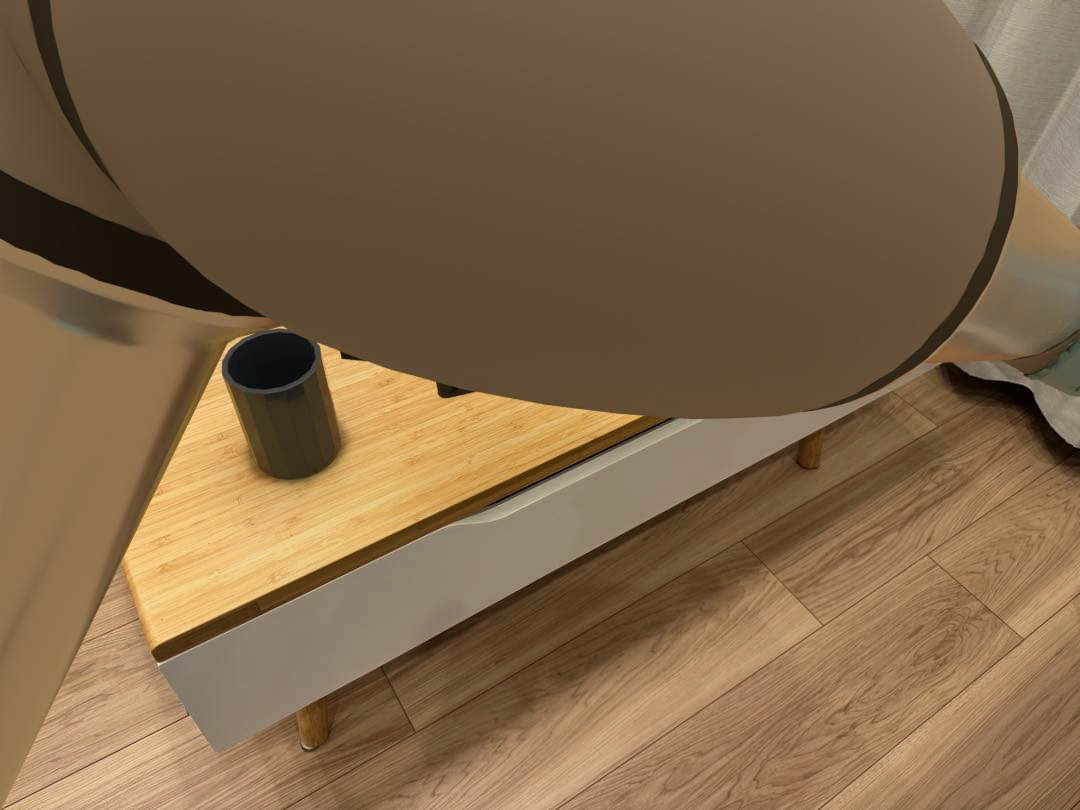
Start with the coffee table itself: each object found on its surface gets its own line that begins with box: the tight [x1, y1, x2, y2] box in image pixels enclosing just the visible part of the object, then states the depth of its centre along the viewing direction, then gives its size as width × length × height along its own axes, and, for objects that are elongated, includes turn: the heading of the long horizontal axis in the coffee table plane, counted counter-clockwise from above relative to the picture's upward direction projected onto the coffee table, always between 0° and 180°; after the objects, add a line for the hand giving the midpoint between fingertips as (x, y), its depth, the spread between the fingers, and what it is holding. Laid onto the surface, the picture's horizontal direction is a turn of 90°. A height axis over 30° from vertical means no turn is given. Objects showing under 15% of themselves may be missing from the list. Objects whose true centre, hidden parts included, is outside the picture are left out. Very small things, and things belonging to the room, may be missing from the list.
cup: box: [221, 327, 342, 481], centre depth 69 cm, size 8×8×11 cm
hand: (365, 280), depth 58 cm, fingers open, 13 cm apart
